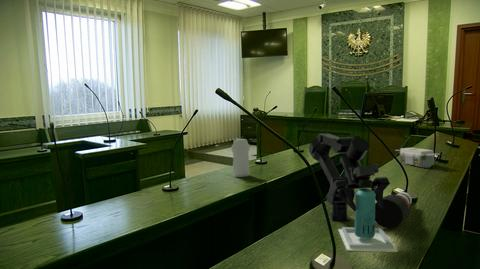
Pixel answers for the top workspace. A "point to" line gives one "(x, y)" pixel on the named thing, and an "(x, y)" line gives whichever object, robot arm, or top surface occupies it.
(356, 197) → the beverage bottle
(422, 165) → the electrical outlet
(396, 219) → the black cylinder
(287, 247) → the top surface
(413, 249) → the top surface
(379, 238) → the white square tray
